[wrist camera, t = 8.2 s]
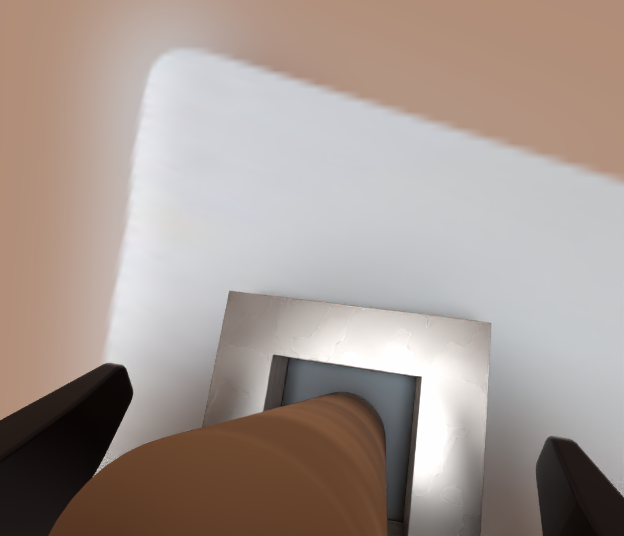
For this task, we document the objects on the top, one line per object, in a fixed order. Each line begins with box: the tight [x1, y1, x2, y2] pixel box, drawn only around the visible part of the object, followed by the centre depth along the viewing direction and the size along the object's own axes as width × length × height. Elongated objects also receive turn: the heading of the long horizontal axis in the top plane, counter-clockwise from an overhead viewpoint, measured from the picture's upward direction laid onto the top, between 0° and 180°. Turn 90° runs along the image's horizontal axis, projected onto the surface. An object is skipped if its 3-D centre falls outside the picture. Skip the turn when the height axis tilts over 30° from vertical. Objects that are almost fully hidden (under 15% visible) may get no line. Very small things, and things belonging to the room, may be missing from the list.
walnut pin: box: [48, 392, 387, 536], centre depth 10 cm, size 3×3×13 cm
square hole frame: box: [202, 291, 491, 536], centre depth 15 cm, size 9×9×2 cm
